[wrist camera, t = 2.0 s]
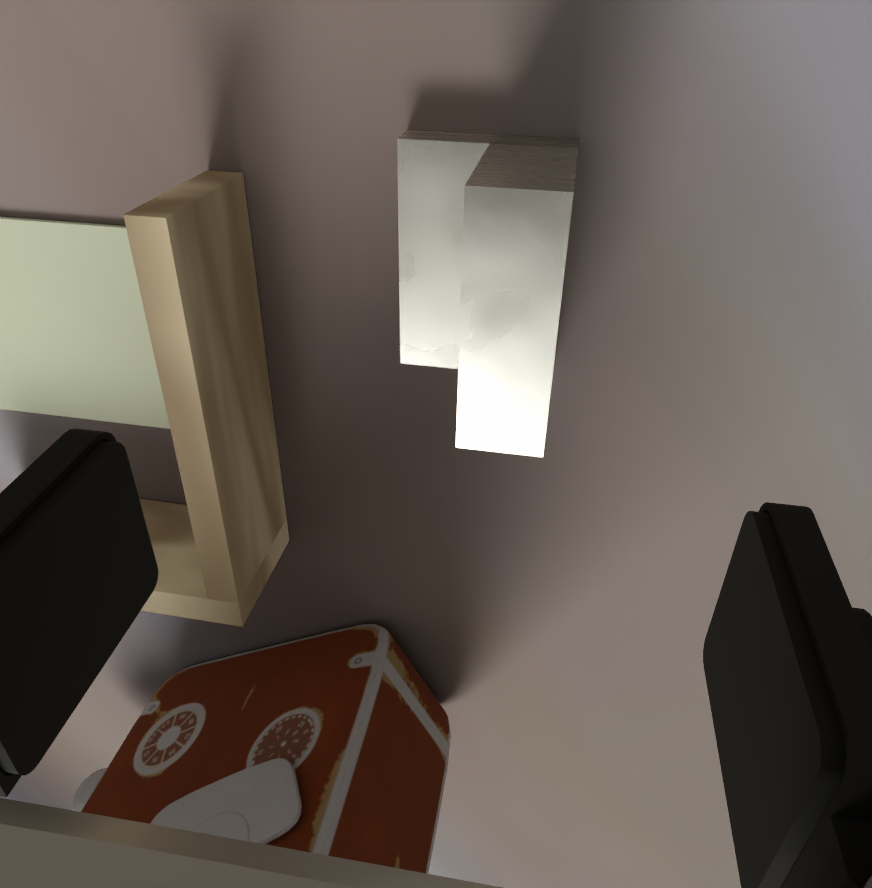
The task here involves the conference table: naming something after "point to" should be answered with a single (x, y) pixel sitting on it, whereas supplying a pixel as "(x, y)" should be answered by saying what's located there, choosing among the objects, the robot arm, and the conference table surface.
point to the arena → (210, 401)
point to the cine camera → (290, 752)
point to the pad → (74, 325)
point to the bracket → (486, 274)
